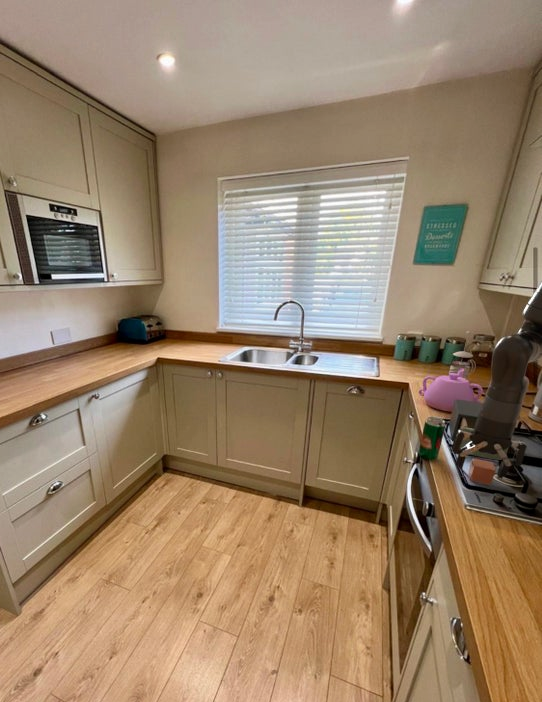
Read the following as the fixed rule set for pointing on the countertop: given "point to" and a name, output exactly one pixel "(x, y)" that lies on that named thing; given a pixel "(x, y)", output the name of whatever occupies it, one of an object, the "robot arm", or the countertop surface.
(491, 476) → the block
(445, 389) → the teapot
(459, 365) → the french press
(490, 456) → the drawer
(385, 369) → the countertop surface
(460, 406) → the cabinet
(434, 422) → the soda can
